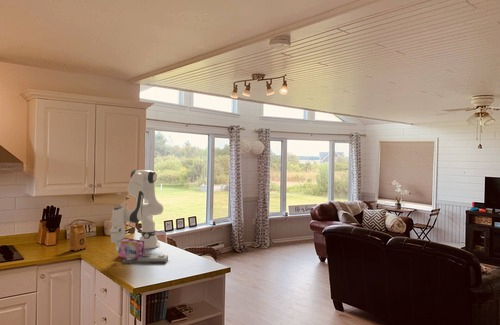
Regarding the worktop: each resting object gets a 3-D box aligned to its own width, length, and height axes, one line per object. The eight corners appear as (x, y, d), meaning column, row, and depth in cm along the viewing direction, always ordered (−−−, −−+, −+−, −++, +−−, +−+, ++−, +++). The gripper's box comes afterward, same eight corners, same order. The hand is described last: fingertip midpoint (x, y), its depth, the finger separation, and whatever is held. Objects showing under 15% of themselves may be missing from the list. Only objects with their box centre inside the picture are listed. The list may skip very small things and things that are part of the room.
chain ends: (126, 260, 281) (126, 253, 281) (168, 260, 281) (168, 253, 281) (122, 263, 272) (122, 256, 272) (165, 263, 272) (165, 256, 272)
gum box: (146, 258, 287) (146, 241, 287) (138, 260, 280) (137, 243, 280) (126, 254, 300) (126, 237, 300) (118, 256, 293) (118, 239, 293)
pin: (117, 251, 281) (117, 238, 281) (121, 251, 281) (121, 238, 281) (115, 252, 277) (115, 239, 277) (120, 252, 277) (120, 239, 277)
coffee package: (88, 248, 319) (88, 223, 319) (75, 252, 308) (75, 225, 308) (80, 247, 324) (80, 222, 324) (67, 250, 313) (67, 224, 313)
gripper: (119, 225, 289) (119, 242, 290) (108, 230, 269) (109, 249, 269) (127, 225, 289) (127, 242, 289) (117, 230, 269) (117, 249, 269)
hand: (118, 246), depth 279 cm, fingers closed on pin, 3 cm apart
